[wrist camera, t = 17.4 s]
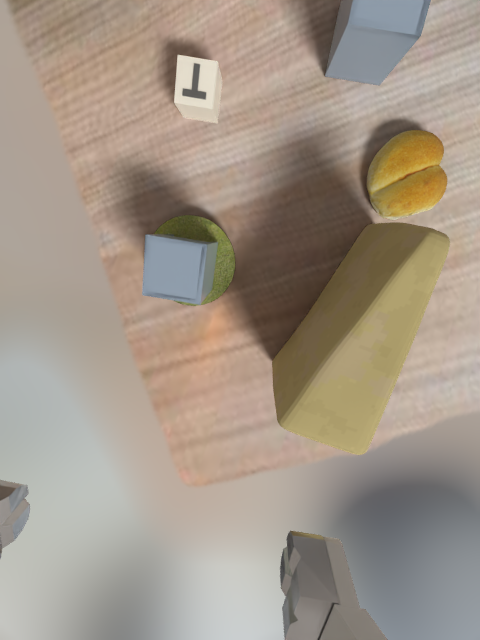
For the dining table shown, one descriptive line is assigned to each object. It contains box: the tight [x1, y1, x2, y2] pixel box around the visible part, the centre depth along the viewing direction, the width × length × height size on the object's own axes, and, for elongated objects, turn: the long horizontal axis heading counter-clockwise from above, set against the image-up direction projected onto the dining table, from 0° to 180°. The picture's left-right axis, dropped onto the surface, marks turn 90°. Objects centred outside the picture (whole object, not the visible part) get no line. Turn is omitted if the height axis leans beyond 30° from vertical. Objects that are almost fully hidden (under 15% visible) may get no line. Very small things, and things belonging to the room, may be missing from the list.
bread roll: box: [367, 130, 447, 220], centre depth 31 cm, size 8×9×4 cm
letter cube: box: [174, 55, 222, 123], centre depth 30 cm, size 4×4×4 cm
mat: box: [154, 215, 235, 306], centre depth 36 cm, size 11×11×2 cm
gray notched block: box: [325, 0, 431, 85], centre depth 26 cm, size 6×6×8 cm
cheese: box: [272, 223, 450, 455], centre depth 31 cm, size 22×10×15 cm, turn 160°
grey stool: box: [142, 234, 218, 305], centre depth 31 cm, size 6×6×8 cm
